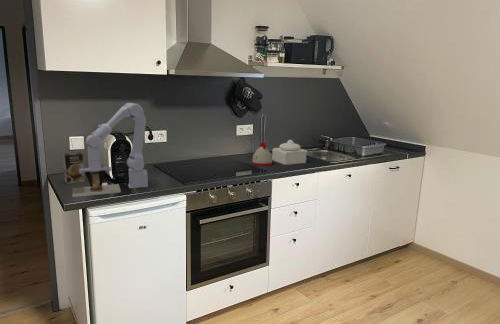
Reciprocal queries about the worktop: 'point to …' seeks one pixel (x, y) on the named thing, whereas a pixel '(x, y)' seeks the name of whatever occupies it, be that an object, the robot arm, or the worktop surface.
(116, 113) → the robot arm
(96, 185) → the peg
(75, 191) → the hole plate
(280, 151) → the grey lidded box
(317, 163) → the worktop surface
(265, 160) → the grey bobble hat
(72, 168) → the coffee box
